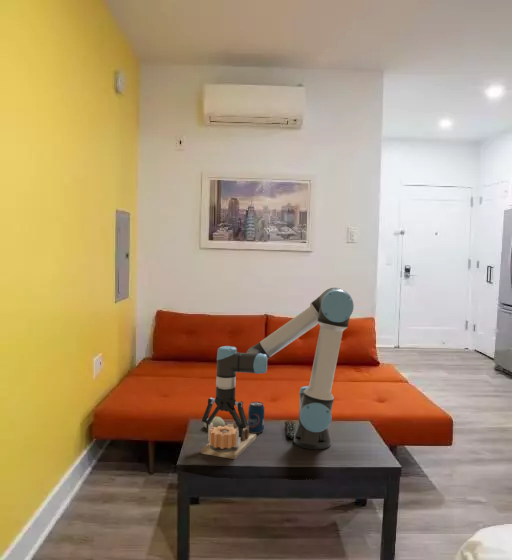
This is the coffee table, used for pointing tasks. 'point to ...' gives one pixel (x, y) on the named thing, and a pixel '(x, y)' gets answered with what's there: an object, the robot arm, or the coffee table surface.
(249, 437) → the gear board
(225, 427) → the loose gear
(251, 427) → the soda can
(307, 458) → the coffee table surface
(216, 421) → the sea urchin shell
